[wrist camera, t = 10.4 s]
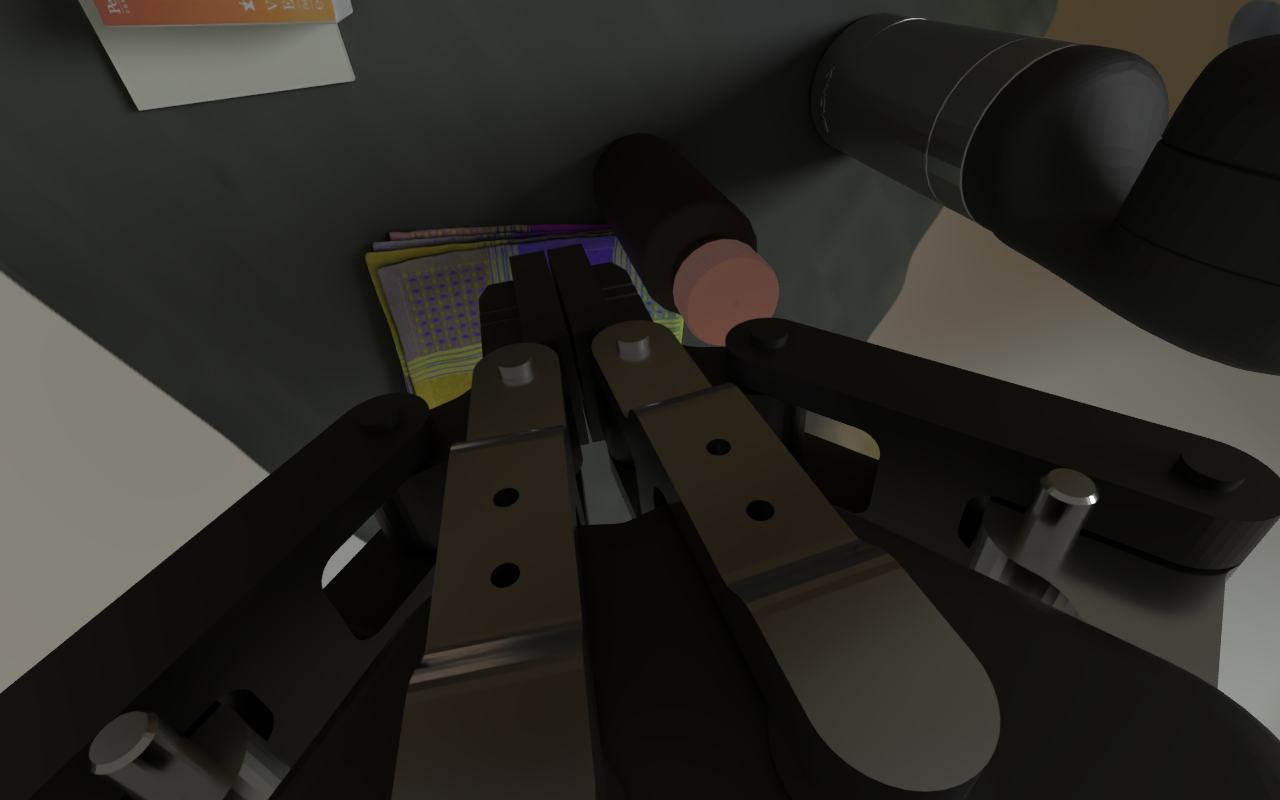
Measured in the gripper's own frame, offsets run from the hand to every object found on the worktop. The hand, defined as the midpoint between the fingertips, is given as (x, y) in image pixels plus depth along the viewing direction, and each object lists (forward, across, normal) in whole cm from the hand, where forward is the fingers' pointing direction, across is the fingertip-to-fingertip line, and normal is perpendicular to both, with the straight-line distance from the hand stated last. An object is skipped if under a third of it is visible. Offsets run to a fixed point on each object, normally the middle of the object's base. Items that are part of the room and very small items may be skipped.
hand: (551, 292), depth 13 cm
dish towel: (+34, 0, +20) cm, 39 cm away
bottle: (+33, -9, +9) cm, 36 cm away
